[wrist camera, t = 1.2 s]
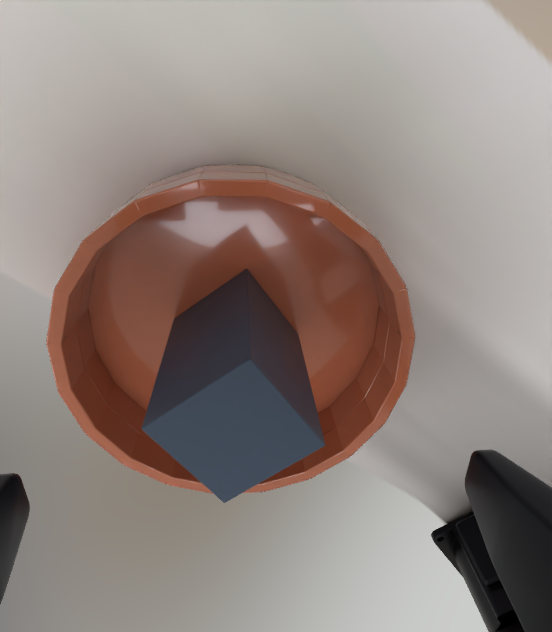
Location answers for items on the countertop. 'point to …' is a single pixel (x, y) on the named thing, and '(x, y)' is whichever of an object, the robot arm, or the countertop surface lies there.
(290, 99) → the countertop surface
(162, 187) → the bowl
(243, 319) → the block
